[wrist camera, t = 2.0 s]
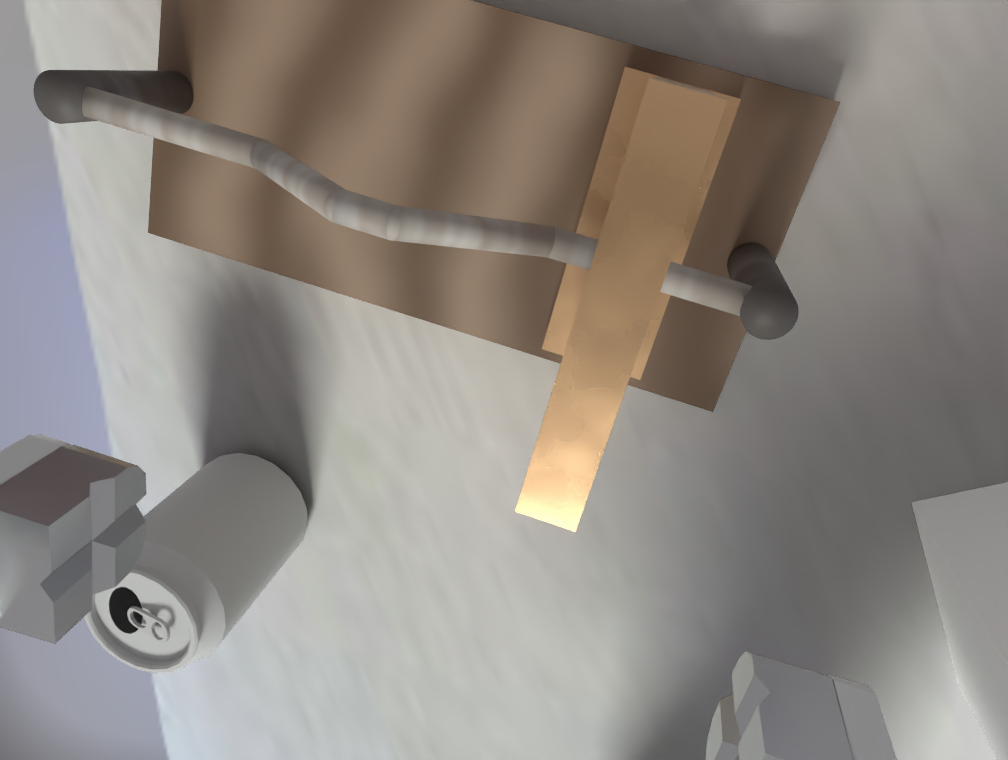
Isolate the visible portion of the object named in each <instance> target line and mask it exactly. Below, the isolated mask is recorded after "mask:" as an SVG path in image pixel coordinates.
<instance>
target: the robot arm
mask: <svg viewBox="0 0 1008 760" xmlns="http://www.w3.org/2000/svg"><path fill="white" fill-rule="evenodd" d="M145 495H146V473H145V472H144V471H143V470H142V469H141V468H140V467H139V466H137V465H134V464H131V463H128V462H125V461H122V460H119V459H116V458H113V457H110V456H106V455H103V454H100V453H97V452H94V451H91V450H88V449H85V448H82V447H79V446H76V445H70V444H68V443H66V442H63V441H59V440H56V439H53V438H50V437H47V436H44V435H29V436H26V437H25V438H23V439H21V440H19V441H18V442H16V443H14V444H12V445H11V446H9V447H7V448H6V449H4V450H2V451H0V628H4V629H7V630H11V631H14V632H17V633H20V634H24V635H27V636H31V637H34V638H37V639H40V640H44V641H47V642H50V643H54V644H56V643H57V641H59V640H60V639H61V638H62V637H63V636H64V635H65V634H66V633H67V632H68V631H69V630H70V629H71V628H73V627H74V625H76V624H77V623H78V622H79V621H80V620H81V619H82V618H83V617H84V616H85V615H86V614H88V613H89V612H90V611H91V610H92V603H93V594H96V593H99V592H102V591H105V590H108V589H111V588H114V587H116V586H117V585H118V584H119V583H120V582H121V581H122V580H123V579H124V578H125V577H126V576H127V575H128V574H129V573H130V572H131V570H132V568H133V566H134V565H135V563H136V561H137V560H138V558H139V556H140V554H141V552H142V548H143V544H144V541H145V537H146V520H145V519H144V517H143V515H142V514H141V512H140V510H139V509H138V507H137V505H136V503H138V502H139V501H140V500H141V499H142V498H143V497H144V496H145ZM732 685H733V694H731V695H729V696H727V697H725V698H723V699H721V700H720V701H719V704H718V706H717V708H716V711H715V713H714V716H713V718H712V721H711V726H710V730H709V734H708V739H707V746H706V759H705V760H897V759H896V755H895V752H894V749H893V746H892V743H891V740H890V737H889V734H888V731H887V728H886V725H885V722H884V719H883V716H882V713H881V710H880V707H879V704H878V701H877V698H876V695H875V692H874V691H873V690H872V689H871V688H870V687H869V686H868V685H864V684H860V683H857V682H853V681H850V680H846V679H843V678H839V677H835V676H832V675H828V674H827V675H823V674H820V673H817V672H814V671H810V670H807V669H804V668H800V667H797V666H794V665H790V664H787V663H784V662H780V661H777V660H774V659H770V658H767V657H764V656H760V655H757V654H754V653H750V652H747V651H745V652H744V653H743V654H742V656H741V657H740V658H739V659H738V661H737V664H736V666H735V668H734V670H733V672H732Z"/></svg>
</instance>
